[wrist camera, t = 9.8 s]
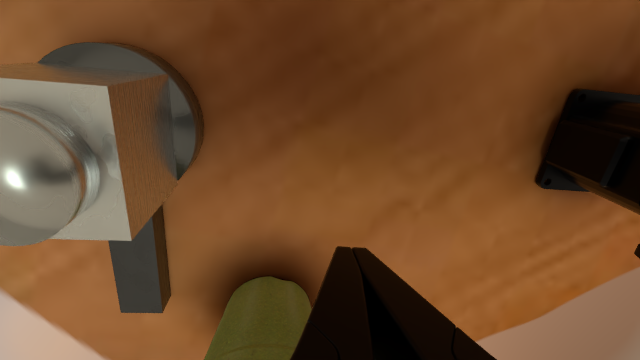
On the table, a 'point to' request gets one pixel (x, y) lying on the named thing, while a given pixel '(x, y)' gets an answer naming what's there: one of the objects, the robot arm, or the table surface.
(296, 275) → the table surface
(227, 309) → the plant pot
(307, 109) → the table surface
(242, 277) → the table surface
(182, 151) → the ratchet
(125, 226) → the block with round boss
